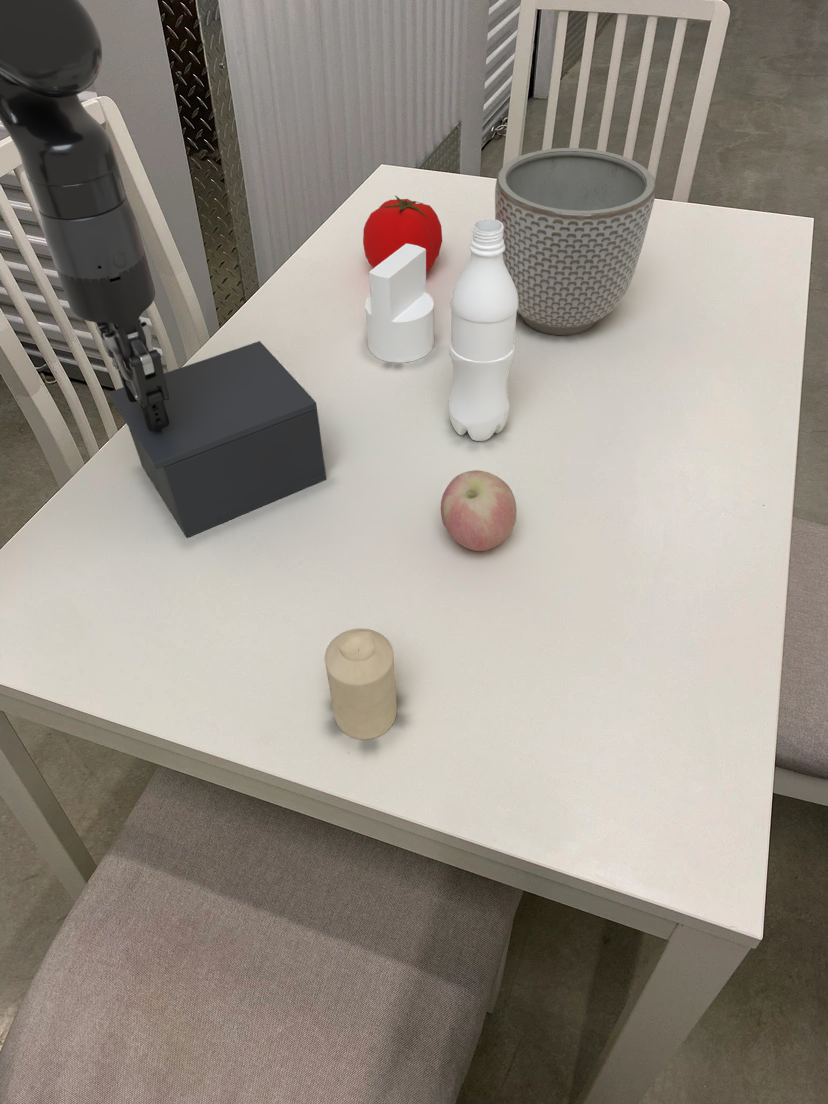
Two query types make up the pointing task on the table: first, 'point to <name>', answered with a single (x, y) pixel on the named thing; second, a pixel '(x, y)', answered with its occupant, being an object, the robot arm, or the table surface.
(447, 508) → the apple
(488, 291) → the water bottle
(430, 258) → the tomato
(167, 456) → the dark grey box lid
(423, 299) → the base with upright slab
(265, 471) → the dark grey open box
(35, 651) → the table surface
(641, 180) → the planter
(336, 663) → the candle
